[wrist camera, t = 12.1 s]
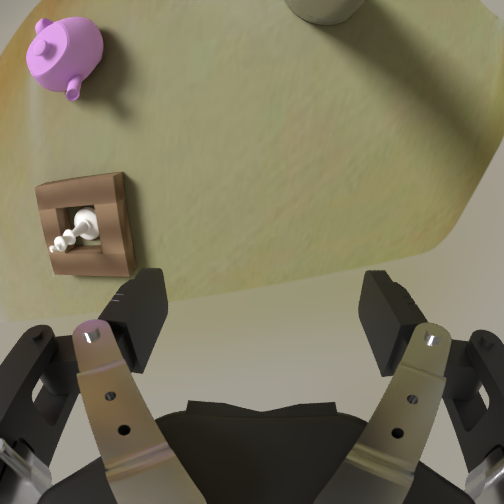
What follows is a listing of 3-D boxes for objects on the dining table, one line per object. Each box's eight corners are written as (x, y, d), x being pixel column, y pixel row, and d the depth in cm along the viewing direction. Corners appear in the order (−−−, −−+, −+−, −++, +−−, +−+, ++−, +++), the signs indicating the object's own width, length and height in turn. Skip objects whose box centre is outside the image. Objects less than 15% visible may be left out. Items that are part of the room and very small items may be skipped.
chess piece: (105, 238, 41) (71, 269, 31) (79, 238, 41) (42, 268, 31) (100, 206, 38) (61, 230, 29) (73, 207, 39) (33, 232, 29)
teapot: (93, 5, 26) (58, -14, 18) (130, 78, 31) (95, 69, 23) (41, 49, 28) (2, 43, 20) (73, 122, 34) (32, 127, 25)
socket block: (46, 182, 37) (34, 187, 34) (122, 171, 36) (113, 175, 34) (64, 265, 43) (54, 274, 40) (137, 266, 42) (129, 276, 39)
